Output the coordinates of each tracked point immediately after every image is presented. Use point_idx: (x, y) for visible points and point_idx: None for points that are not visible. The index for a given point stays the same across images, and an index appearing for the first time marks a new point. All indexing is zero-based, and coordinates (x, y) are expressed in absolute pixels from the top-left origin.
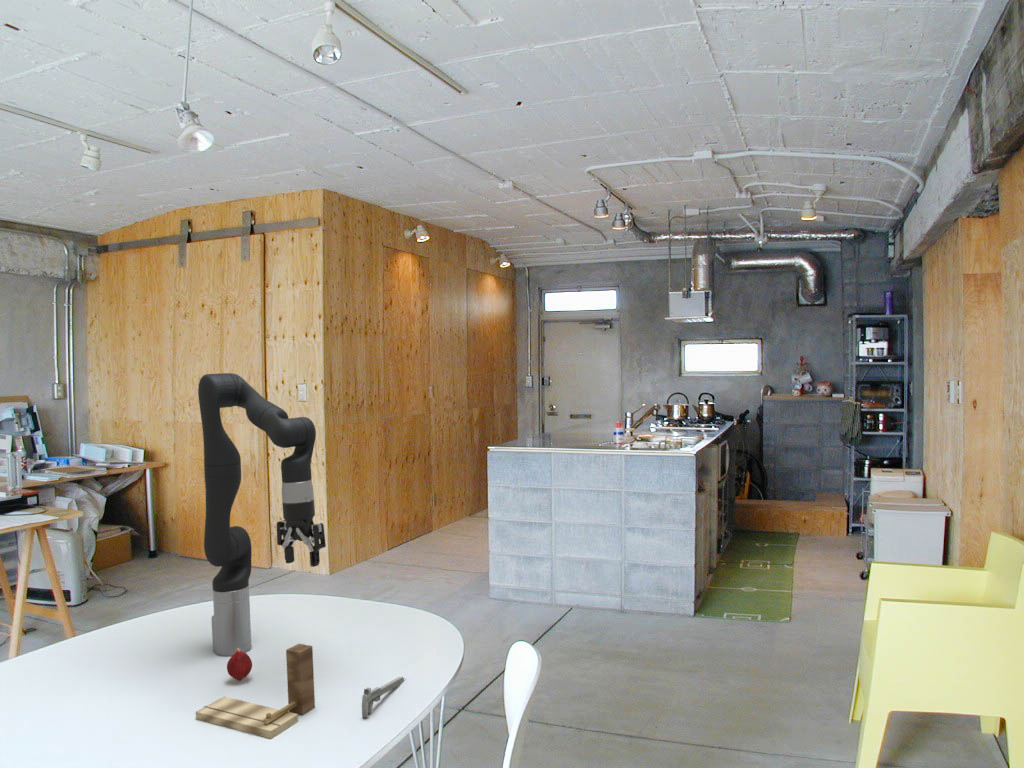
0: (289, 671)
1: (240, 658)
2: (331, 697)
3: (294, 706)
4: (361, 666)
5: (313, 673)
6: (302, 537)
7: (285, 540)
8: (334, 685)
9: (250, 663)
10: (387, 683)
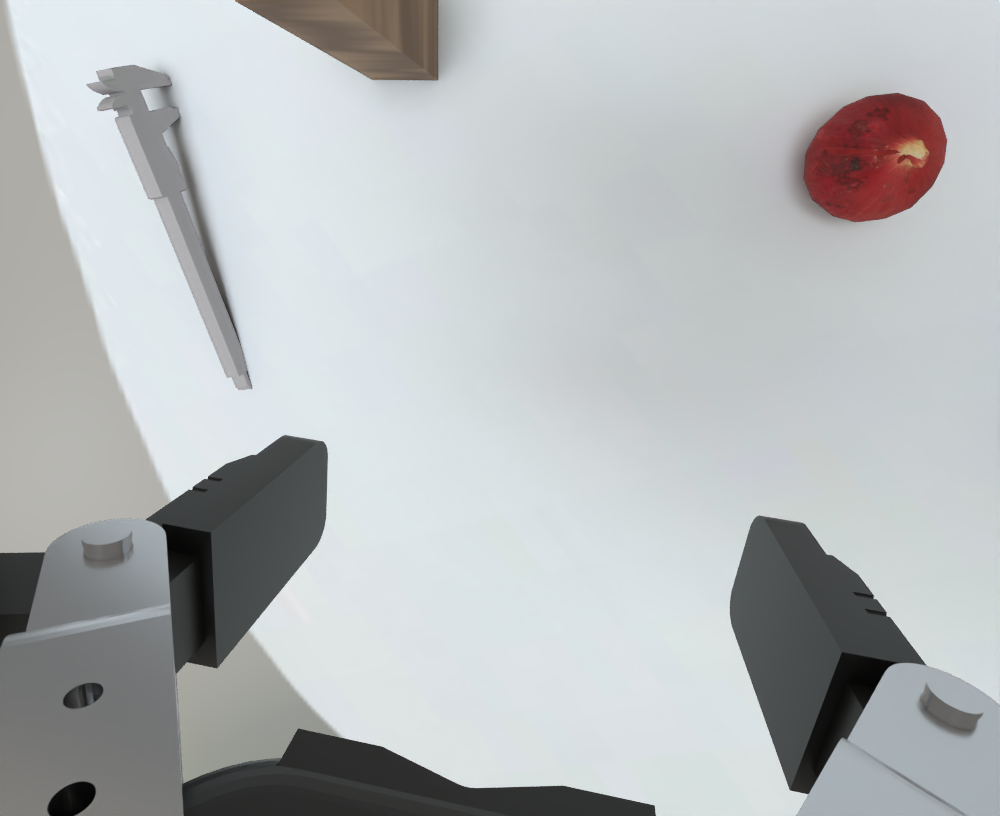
0: None
1: (863, 128)
2: (372, 178)
3: None
4: (439, 436)
5: (311, 44)
6: (98, 759)
7: (936, 795)
8: (427, 269)
9: (813, 176)
10: (199, 281)
